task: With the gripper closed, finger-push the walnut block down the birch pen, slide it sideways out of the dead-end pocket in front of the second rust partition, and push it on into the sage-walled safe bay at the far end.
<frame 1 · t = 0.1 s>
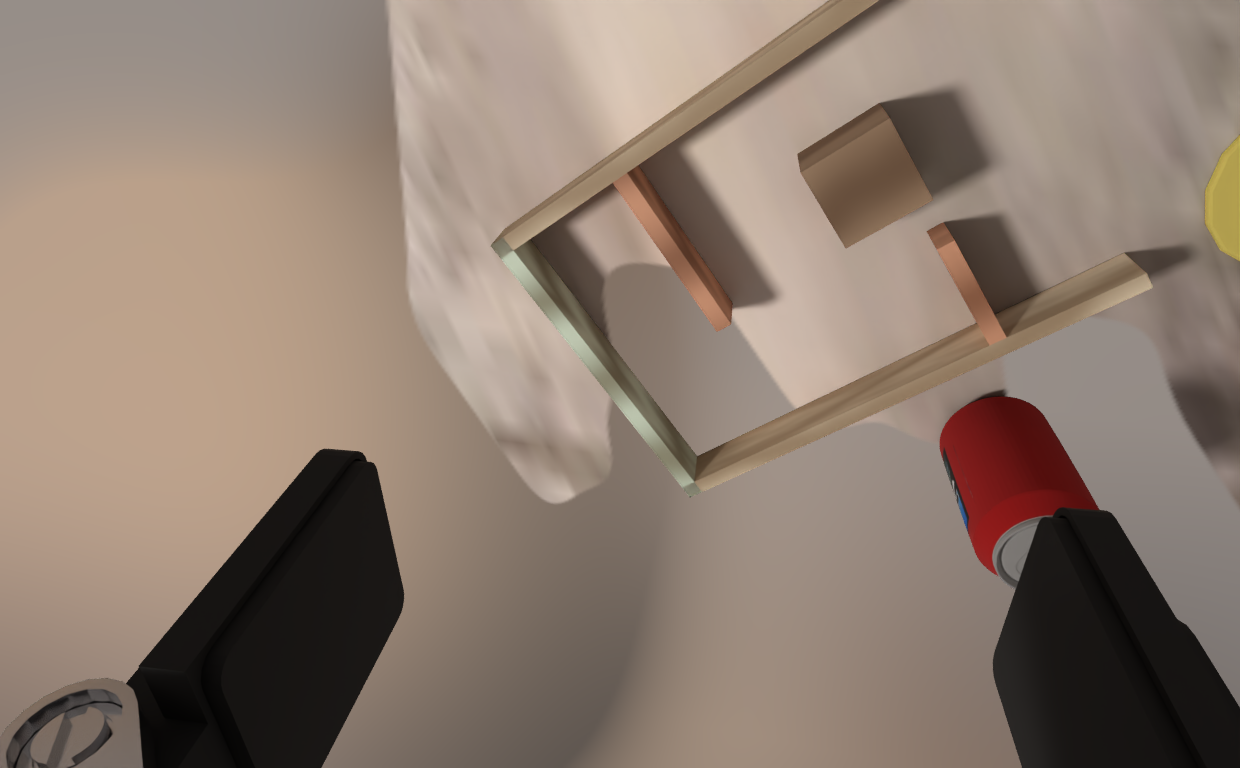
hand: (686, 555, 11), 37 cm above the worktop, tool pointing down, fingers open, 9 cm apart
beverage can: (989, 431, 51), on the worktop
block: (858, 165, 44), on the worktop
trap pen: (801, 246, 47), on the worktop
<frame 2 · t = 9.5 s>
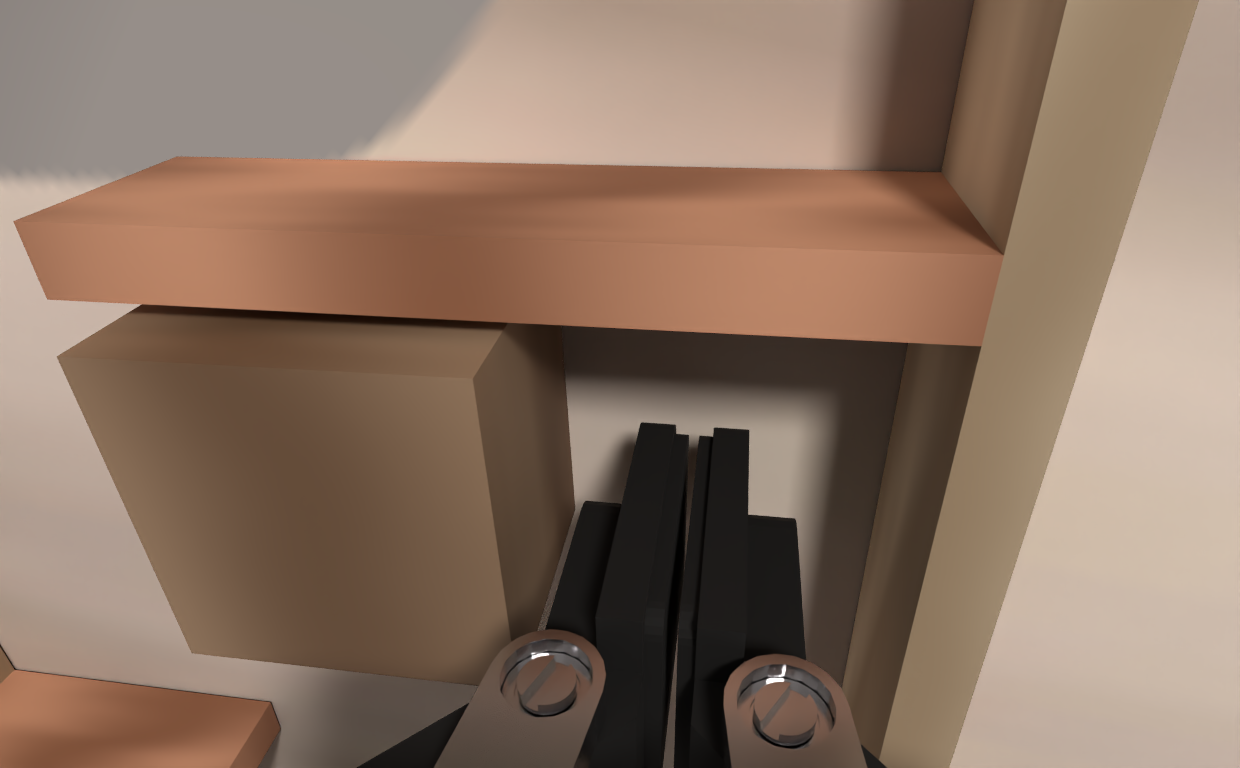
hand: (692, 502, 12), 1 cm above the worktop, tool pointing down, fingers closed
block: (424, 381, 13), on the worktop, touching gripper
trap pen: (330, 500, 15), on the worktop
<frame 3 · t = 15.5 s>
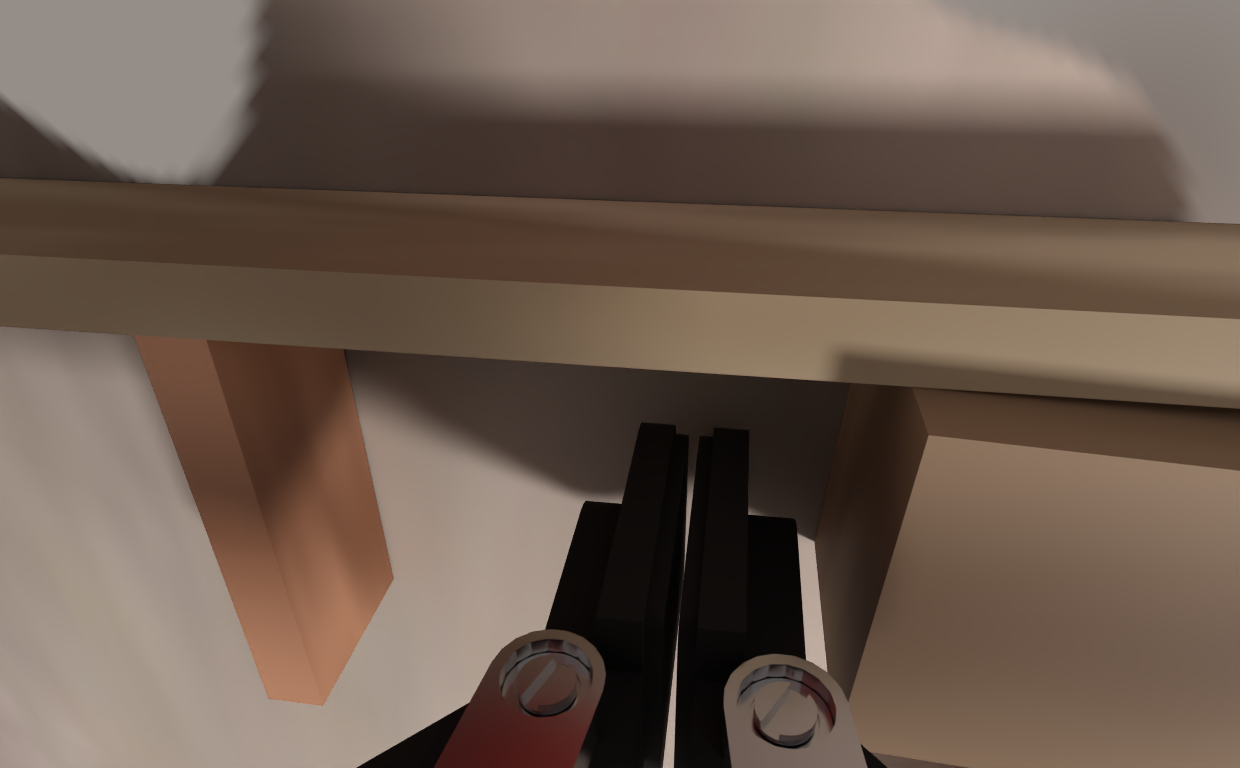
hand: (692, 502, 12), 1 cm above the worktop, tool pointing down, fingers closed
block: (1004, 442, 12), on the worktop, touching gripper
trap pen: (707, 713, 16), on the worktop
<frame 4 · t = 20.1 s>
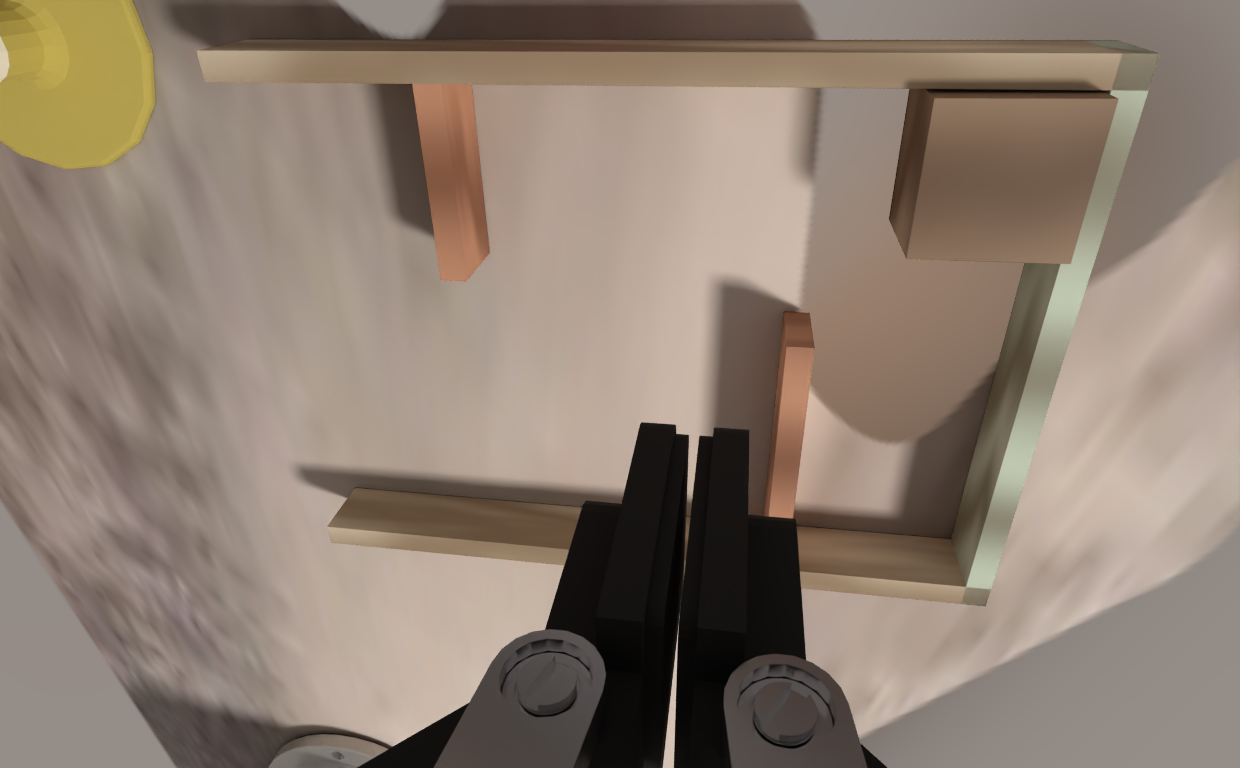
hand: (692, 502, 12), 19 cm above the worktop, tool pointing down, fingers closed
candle: (36, 38, 30), on the worktop
block: (974, 151, 27), on the worktop
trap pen: (647, 327, 32), on the worktop
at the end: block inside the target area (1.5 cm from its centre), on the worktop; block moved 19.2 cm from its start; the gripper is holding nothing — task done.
